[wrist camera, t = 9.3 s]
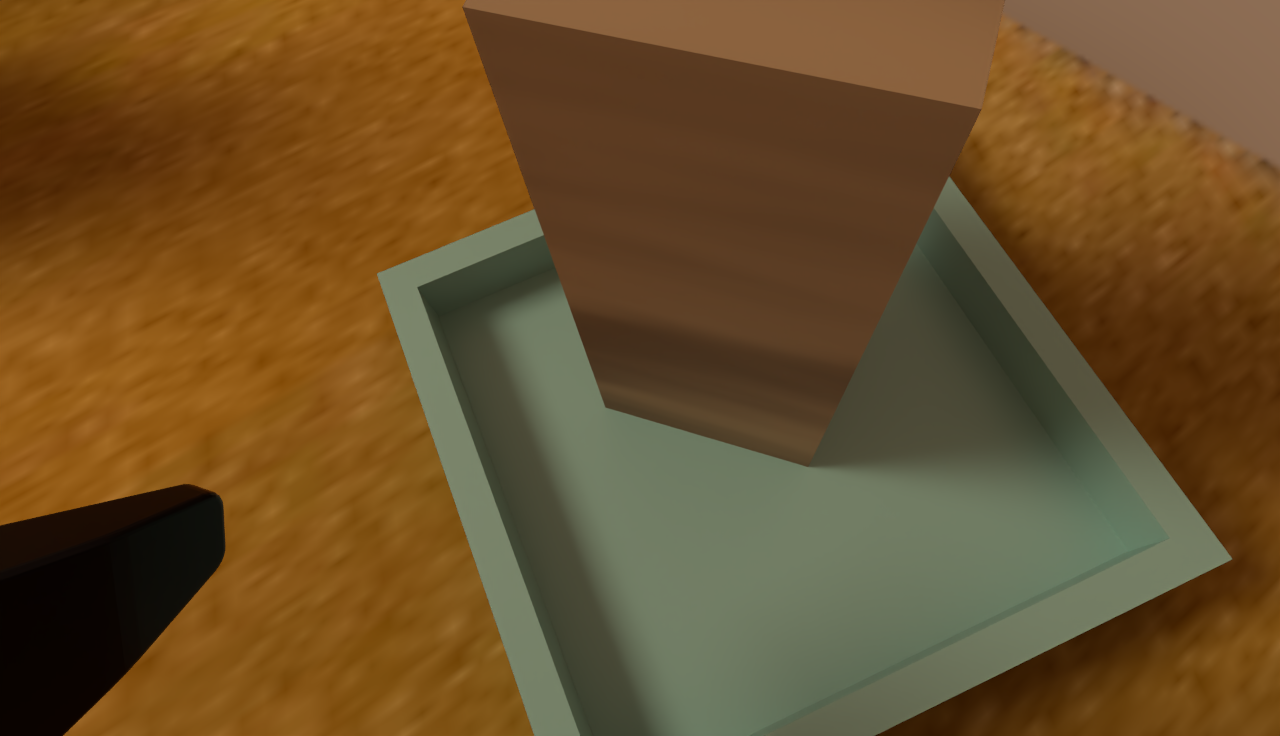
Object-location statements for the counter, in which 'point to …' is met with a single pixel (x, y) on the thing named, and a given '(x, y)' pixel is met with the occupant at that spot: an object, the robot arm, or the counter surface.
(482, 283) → the teal tray
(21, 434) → the counter surface
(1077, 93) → the counter surface
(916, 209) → the walnut block
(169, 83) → the counter surface
